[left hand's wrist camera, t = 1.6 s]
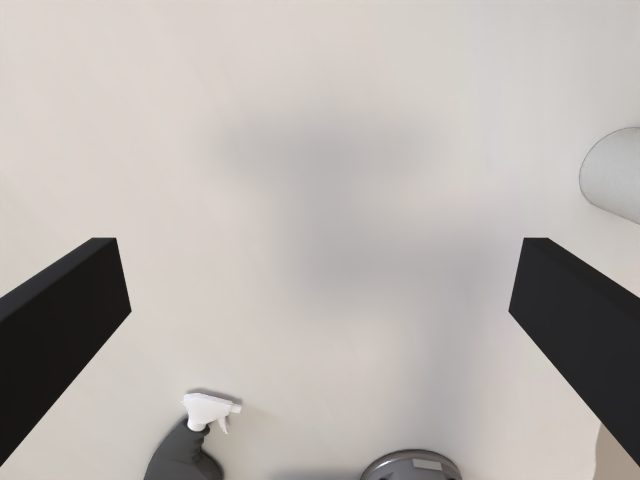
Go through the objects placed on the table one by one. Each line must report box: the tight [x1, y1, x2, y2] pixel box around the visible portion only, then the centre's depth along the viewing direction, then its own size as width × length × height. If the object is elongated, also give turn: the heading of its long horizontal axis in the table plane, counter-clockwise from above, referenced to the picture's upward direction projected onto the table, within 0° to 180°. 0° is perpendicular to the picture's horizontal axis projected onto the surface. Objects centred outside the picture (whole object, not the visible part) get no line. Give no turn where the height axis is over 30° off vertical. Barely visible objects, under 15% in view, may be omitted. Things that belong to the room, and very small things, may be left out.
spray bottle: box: [144, 393, 241, 480], centre depth 53 cm, size 3×11×24 cm
